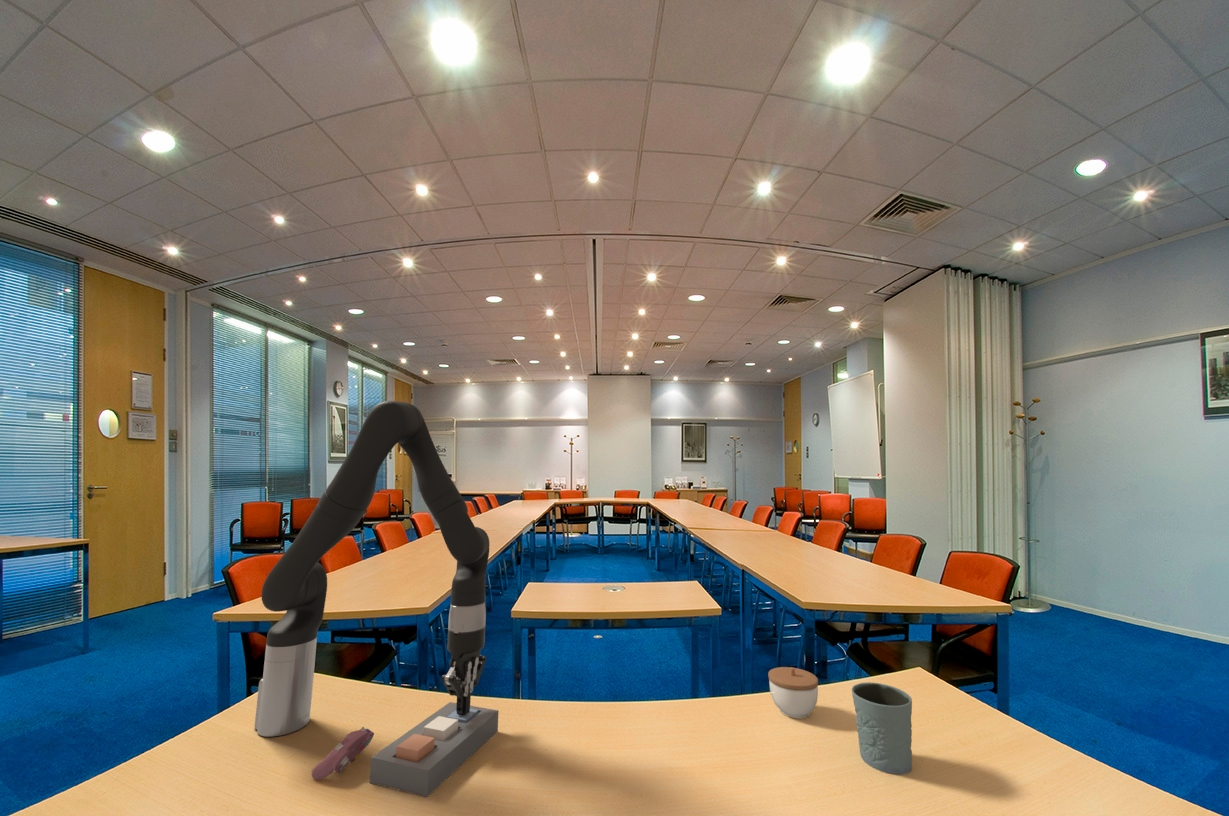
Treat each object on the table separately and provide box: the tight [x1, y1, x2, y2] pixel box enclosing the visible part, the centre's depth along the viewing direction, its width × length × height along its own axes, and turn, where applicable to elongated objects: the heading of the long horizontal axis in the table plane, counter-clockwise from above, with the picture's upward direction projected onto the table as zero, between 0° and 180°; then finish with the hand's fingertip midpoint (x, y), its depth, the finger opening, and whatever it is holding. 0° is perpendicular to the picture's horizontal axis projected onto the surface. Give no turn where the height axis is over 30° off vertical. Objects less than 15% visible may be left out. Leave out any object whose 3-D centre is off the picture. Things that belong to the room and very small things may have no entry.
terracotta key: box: [396, 734, 435, 763], centre depth 86 cm, size 4×4×2 cm
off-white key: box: [423, 716, 458, 742], centre depth 92 cm, size 4×4×2 cm
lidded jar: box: [768, 666, 819, 719], centre depth 110 cm, size 11×11×9 cm
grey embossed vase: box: [851, 681, 913, 775], centre depth 91 cm, size 10×10×12 cm
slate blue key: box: [447, 709, 478, 723], centre depth 99 cm, size 4×4×2 cm
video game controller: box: [311, 726, 375, 781], centre depth 88 cm, size 10×5×7 cm, turn 169°
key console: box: [369, 701, 499, 798], centre depth 92 cm, size 12×22×4 cm, turn 162°
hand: (462, 713), depth 99 cm, fingers closed
